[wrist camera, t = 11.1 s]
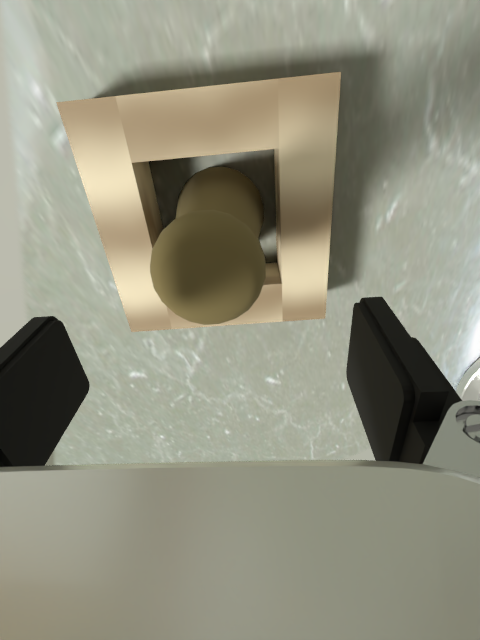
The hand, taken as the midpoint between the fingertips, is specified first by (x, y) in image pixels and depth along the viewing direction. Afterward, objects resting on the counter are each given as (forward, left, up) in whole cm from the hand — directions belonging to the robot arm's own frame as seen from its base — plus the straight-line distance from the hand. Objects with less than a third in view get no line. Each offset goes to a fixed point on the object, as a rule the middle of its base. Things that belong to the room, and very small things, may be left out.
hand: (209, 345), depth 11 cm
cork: (0, 0, -15) cm, 15 cm away
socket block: (0, +1, -15) cm, 15 cm away
